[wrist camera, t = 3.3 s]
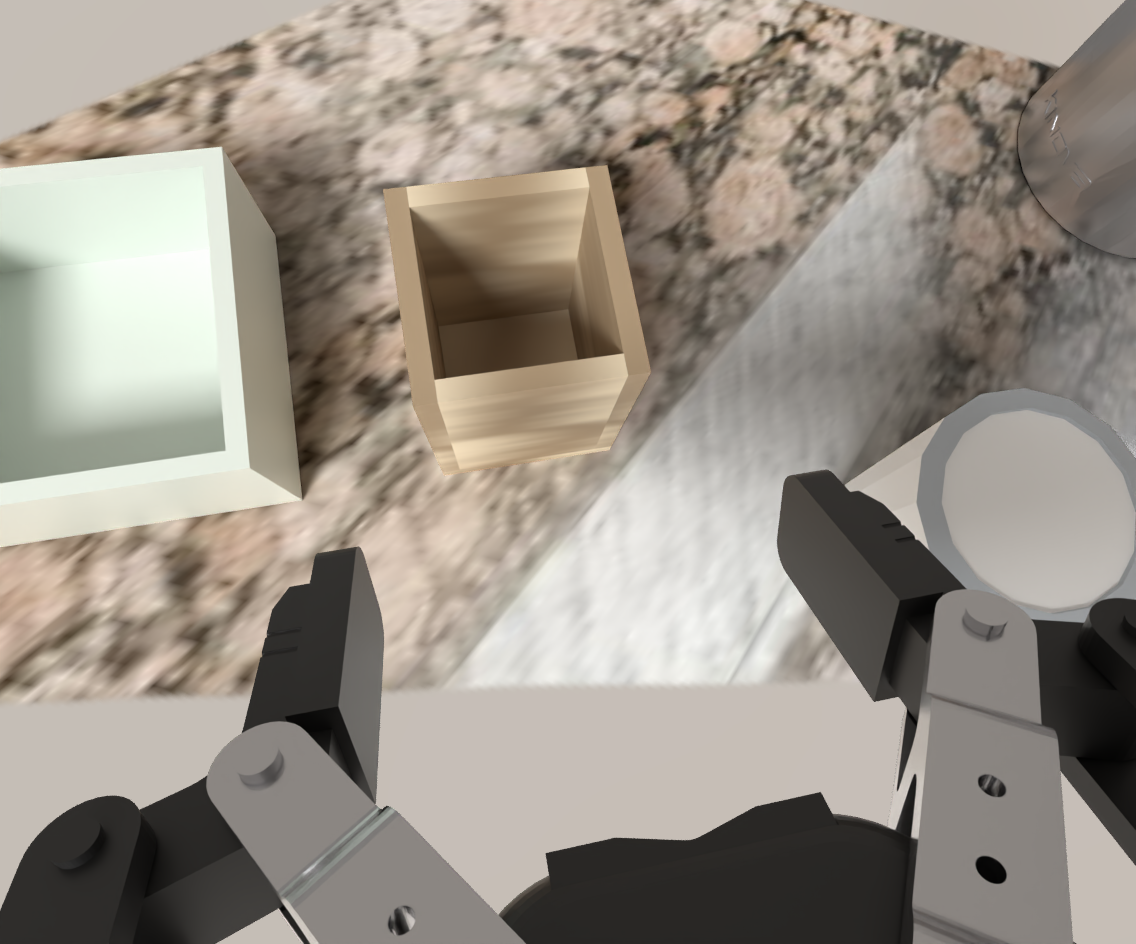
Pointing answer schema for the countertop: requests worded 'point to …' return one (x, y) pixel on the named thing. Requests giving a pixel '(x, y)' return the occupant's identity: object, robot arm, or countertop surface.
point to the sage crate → (139, 347)
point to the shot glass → (1019, 501)
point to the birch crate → (516, 316)
